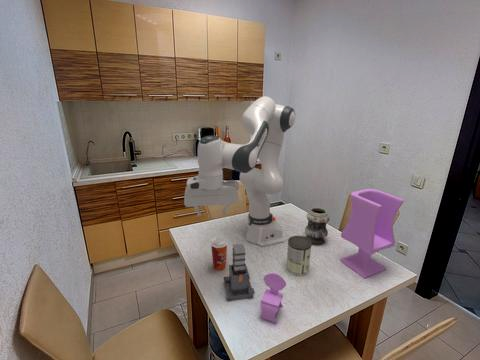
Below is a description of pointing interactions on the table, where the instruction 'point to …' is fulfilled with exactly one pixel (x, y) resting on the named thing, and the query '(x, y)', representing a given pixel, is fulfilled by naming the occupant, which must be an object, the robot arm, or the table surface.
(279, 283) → the toy chair
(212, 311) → the table surface
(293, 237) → the coffee can
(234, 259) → the column
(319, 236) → the apothecary jar
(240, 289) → the stand
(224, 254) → the paper cup
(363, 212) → the purple pedestal armchair
